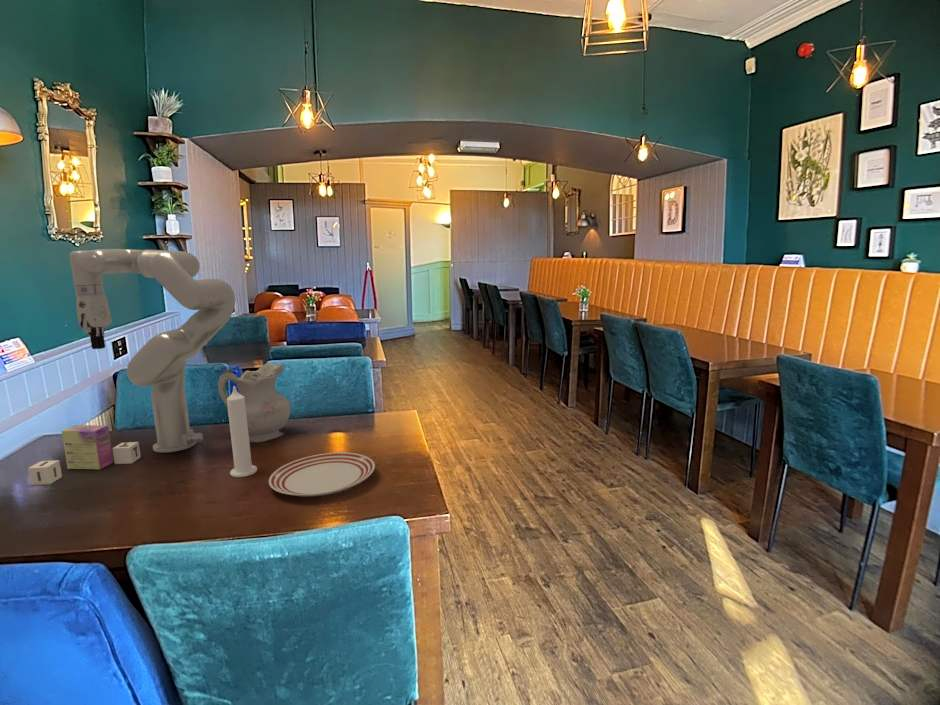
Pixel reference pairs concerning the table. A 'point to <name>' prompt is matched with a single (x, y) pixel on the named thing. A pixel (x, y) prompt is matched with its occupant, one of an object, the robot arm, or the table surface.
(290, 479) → the dinner plate
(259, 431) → the ceramic pitcher
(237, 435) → the candle
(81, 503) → the table surface
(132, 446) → the block seven
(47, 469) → the block one
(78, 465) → the box
